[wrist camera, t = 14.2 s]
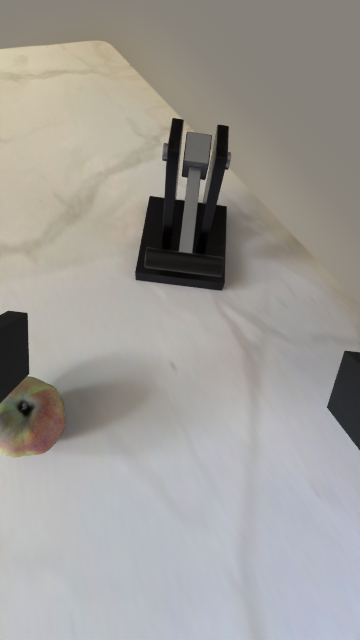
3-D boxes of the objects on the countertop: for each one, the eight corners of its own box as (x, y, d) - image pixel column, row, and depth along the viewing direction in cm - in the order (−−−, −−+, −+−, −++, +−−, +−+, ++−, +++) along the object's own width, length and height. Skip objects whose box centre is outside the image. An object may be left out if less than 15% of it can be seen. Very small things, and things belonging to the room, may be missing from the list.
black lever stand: (221, 290, 36) (259, 194, 24) (135, 280, 36) (128, 177, 24) (224, 214, 42) (255, 105, 29) (149, 204, 41) (149, 89, 29)
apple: (4, 489, 26) (-33, 491, 20) (1, 394, 29) (-32, 376, 24) (79, 467, 27) (63, 465, 22) (68, 379, 30) (51, 358, 25)
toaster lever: (218, 280, 28) (224, 272, 25) (145, 271, 27) (143, 262, 25) (230, 156, 30) (236, 138, 27) (162, 147, 29) (162, 127, 27)
